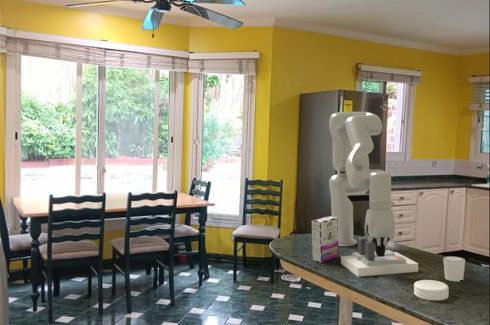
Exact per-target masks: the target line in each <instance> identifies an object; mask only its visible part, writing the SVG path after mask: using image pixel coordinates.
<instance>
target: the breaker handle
mask: <svg viewBox="0 0 490 325" xmlns="http://www.w3.org/2000/svg"><path fill="white" fill-rule="evenodd" d="M375 251H376V250H375V243H373V242H365V258H366V259H367V260H375Z"/></svg>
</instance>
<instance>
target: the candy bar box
mask: <svg viewBox="0 0 490 325" xmlns="http://www.w3.org/2000/svg"><path fill="white" fill-rule="evenodd" d="M311 244H312V245H311V247H312V248H311V249H312V252H311V253H312V261H313V260H314V261H313V262H317V261H318V263H324V262H327V261H331V260H333V259H336V258H339V256H340V255H339V246H338V218H337V217H332V215H331V216H324V217H321V218H317V219H314V220H311Z"/></svg>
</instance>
